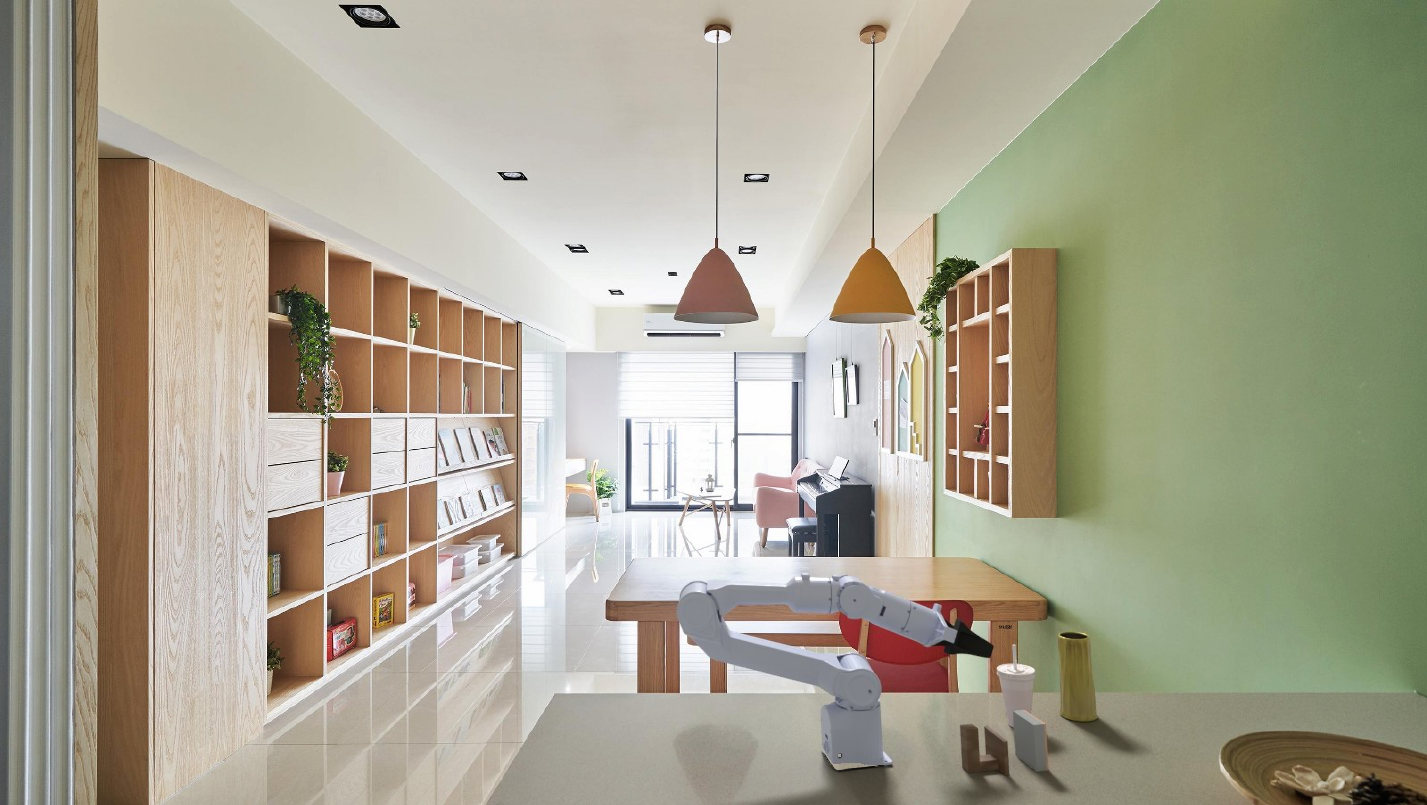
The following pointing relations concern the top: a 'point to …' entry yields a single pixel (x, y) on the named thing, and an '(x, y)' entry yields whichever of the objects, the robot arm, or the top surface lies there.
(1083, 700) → the vase
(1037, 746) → the tile
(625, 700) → the top surface
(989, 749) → the u-shaped wooden bracket
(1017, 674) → the smoothie
